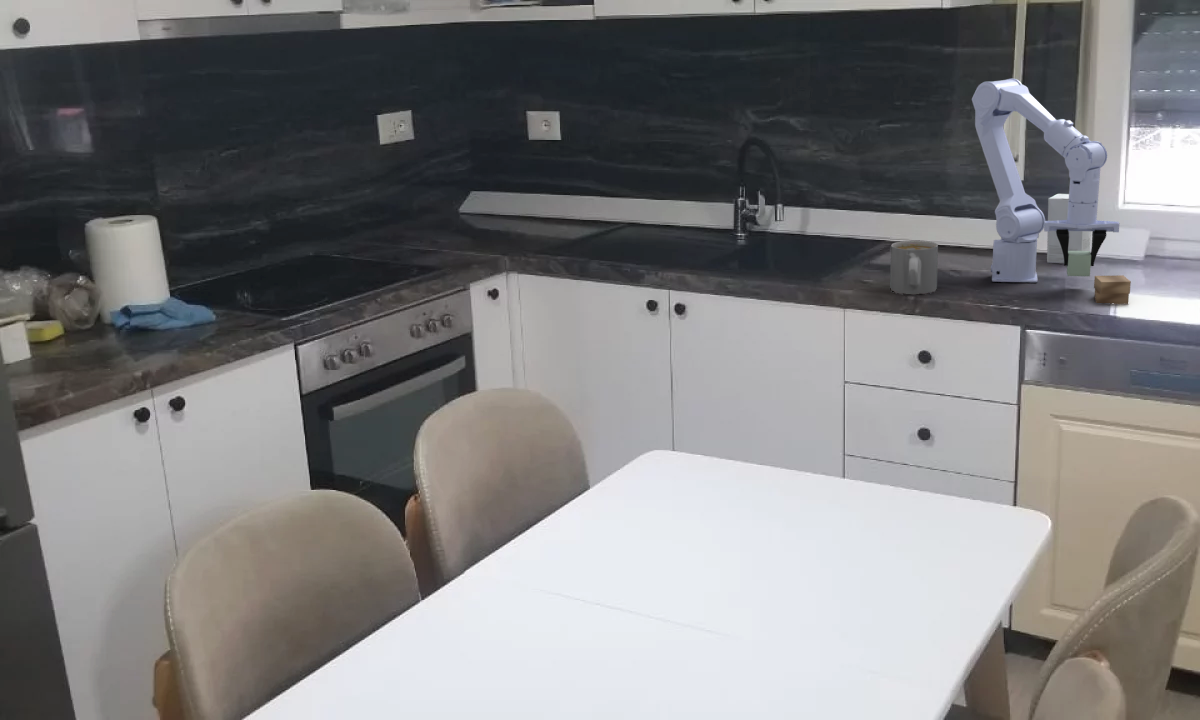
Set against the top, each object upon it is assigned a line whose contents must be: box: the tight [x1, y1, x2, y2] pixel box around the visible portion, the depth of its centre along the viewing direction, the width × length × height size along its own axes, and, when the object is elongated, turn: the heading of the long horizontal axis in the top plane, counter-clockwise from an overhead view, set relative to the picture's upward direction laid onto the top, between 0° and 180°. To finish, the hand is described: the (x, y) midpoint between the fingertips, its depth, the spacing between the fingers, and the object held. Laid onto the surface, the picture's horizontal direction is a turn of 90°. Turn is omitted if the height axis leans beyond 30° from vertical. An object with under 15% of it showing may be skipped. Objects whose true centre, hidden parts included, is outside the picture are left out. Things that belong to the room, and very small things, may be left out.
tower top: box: [1093, 274, 1132, 295], centre depth 240 cm, size 6×6×2 cm
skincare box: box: [1046, 193, 1092, 264], centre depth 274 cm, size 8×7×16 cm
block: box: [1066, 250, 1092, 277], centre depth 249 cm, size 4×4×4 cm
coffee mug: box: [889, 240, 939, 294], centre depth 256 cm, size 13×10×10 cm
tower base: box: [1093, 288, 1130, 305], centre depth 241 cm, size 6×6×2 cm
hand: (1078, 264), depth 249 cm, fingers closed on block, 4 cm apart
